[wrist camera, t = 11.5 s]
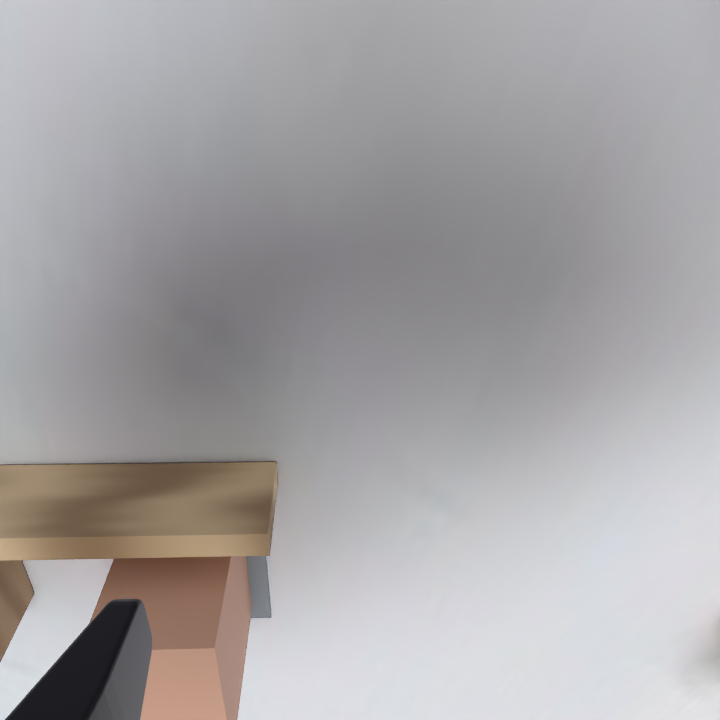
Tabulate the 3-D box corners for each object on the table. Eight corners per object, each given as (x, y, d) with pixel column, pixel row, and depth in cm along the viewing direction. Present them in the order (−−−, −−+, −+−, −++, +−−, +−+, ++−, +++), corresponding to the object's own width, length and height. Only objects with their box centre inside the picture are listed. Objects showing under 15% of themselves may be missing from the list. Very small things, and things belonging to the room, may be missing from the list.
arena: (276, 462, 23) (267, 533, 20) (287, 615, 27) (281, 692, 24) (-44, 465, 22) (-103, 540, 19) (21, 621, 27) (-18, 700, 24)
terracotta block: (252, 606, 27) (232, 753, 22) (158, 608, 27) (116, 757, 21) (240, 504, 24) (214, 648, 18) (134, 505, 23) (78, 651, 18)
